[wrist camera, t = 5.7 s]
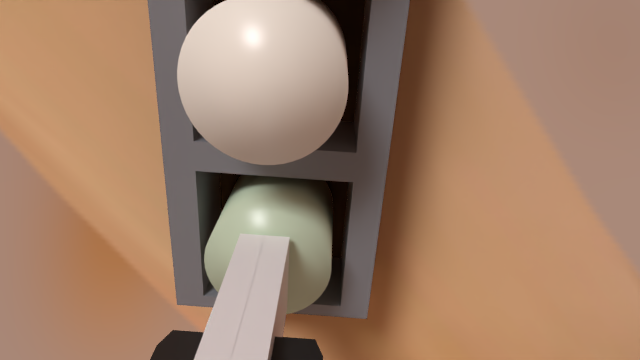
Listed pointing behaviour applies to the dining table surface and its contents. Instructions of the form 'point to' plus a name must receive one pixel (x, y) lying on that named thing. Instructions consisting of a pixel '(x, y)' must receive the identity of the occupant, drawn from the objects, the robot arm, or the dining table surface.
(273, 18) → the cream rounded dome
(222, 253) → the sage button
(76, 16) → the dining table surface
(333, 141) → the button panel
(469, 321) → the dining table surface
